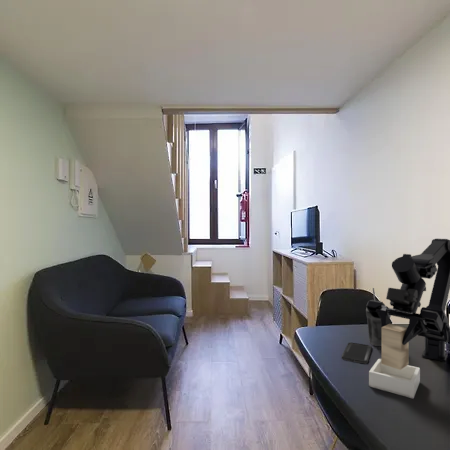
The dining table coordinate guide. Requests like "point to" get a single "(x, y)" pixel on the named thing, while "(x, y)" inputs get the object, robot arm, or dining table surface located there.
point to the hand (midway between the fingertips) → (392, 341)
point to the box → (395, 379)
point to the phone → (357, 352)
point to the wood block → (394, 347)
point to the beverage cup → (374, 327)
